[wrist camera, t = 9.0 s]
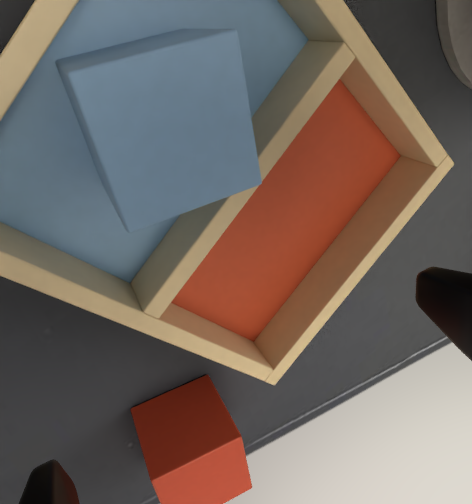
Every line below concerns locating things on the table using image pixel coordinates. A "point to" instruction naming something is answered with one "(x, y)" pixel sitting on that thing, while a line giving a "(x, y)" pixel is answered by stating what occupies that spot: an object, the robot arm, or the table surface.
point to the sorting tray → (227, 209)
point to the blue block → (165, 121)
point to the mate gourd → (456, 36)
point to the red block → (192, 446)
